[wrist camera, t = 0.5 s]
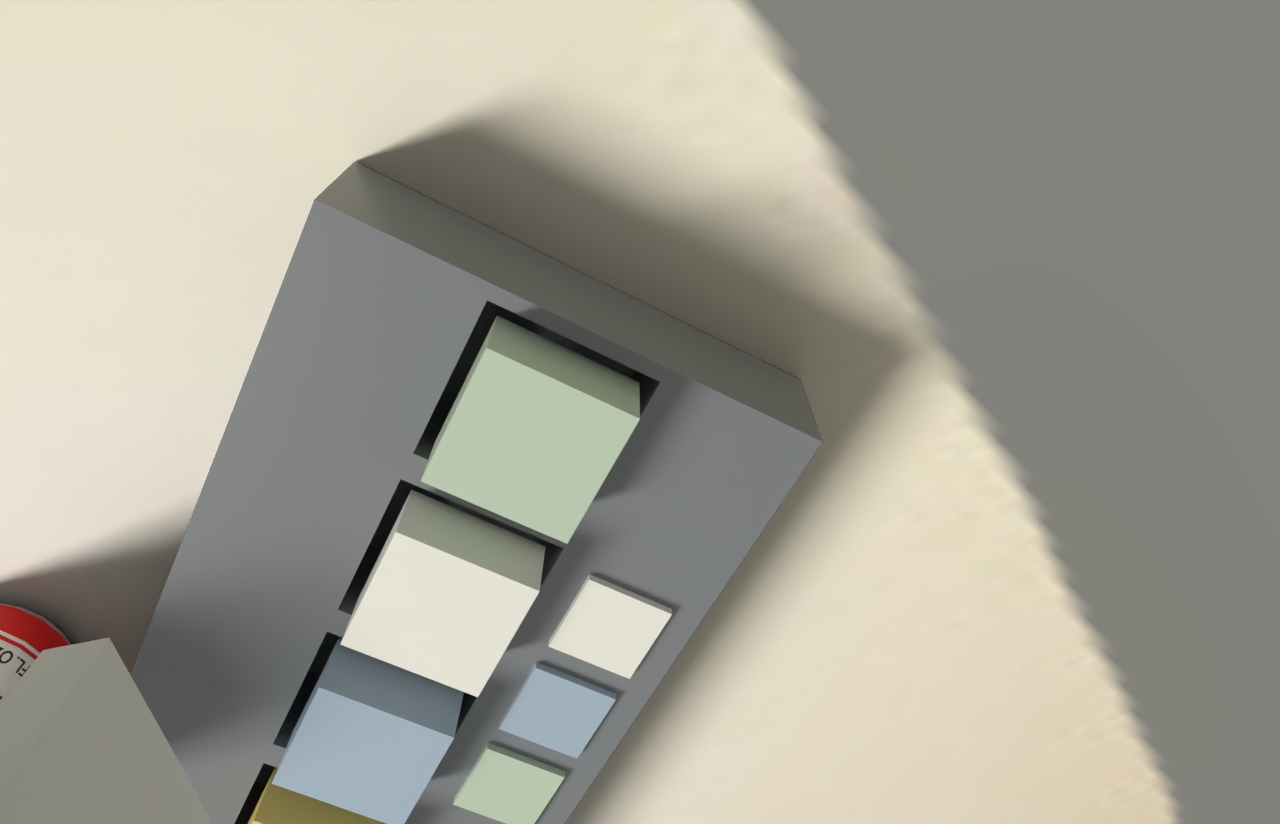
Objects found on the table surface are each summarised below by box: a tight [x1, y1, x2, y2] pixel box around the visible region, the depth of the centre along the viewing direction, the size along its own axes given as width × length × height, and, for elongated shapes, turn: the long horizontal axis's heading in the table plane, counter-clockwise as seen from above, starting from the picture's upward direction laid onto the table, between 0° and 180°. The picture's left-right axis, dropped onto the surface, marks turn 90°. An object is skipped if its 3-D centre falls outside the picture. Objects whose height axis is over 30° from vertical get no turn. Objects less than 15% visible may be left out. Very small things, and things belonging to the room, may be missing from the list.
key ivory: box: [340, 490, 545, 697], centre depth 33 cm, size 5×5×2 cm
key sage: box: [421, 316, 640, 544], centre depth 30 cm, size 5×5×2 cm
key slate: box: [272, 639, 464, 824], centre depth 35 cm, size 5×5×2 cm
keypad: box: [130, 162, 822, 824], centre depth 36 cm, size 16×26×5 cm, turn 152°
